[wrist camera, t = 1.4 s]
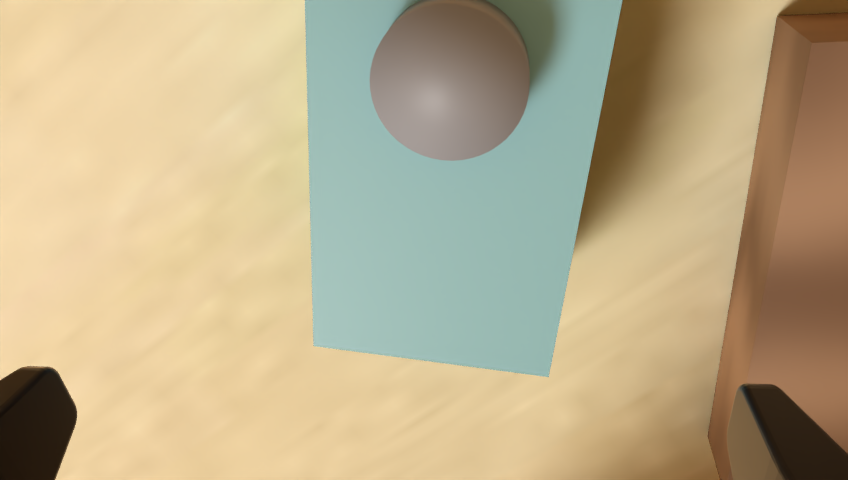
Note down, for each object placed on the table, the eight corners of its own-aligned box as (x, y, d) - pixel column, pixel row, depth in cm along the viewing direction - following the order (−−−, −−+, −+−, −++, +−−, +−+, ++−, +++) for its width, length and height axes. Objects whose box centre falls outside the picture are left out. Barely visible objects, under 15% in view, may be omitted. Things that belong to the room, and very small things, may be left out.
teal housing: (545, 269, 22) (549, 405, 17) (354, 246, 23) (302, 371, 17) (606, -82, 17) (640, -41, 12) (359, -102, 17) (287, -71, 12)
